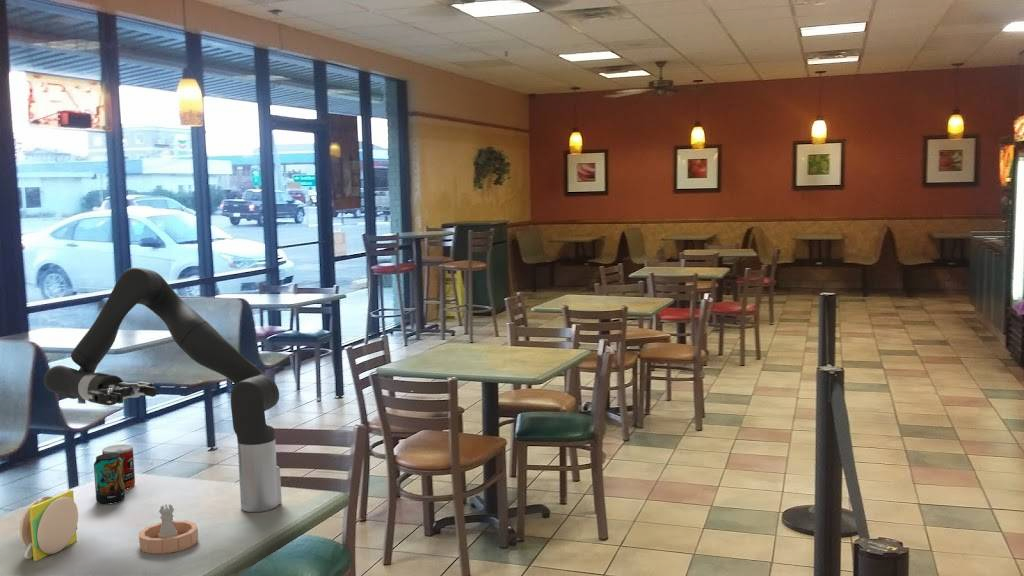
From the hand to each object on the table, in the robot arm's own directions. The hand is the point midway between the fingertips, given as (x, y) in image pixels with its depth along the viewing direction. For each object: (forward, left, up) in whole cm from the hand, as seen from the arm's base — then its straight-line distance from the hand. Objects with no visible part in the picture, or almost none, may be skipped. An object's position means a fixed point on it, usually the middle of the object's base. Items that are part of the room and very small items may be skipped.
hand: (138, 395), depth 219 cm
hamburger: (+21, -5, -32) cm, 39 cm away
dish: (+4, +15, -32) cm, 36 cm away
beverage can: (-6, -26, -32) cm, 42 cm away
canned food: (-14, -35, -32) cm, 50 cm away
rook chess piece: (+4, +15, -31) cm, 35 cm away
